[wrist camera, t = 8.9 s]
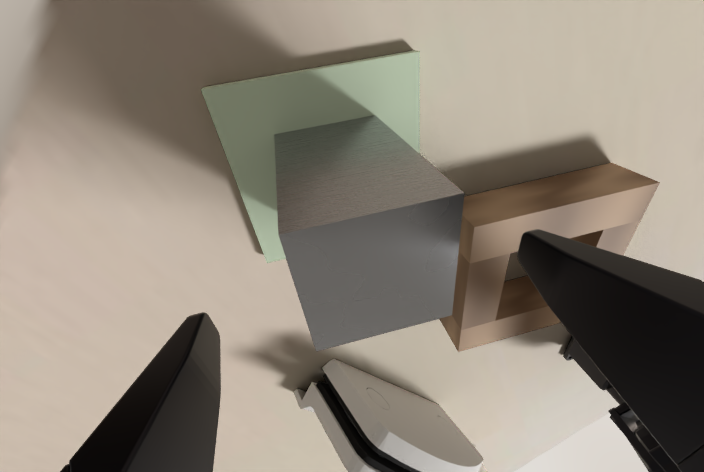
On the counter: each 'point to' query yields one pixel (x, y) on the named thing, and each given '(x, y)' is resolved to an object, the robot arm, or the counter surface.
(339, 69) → the green pad
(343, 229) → the steel block
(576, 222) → the socket plate
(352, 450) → the white black-striped wedge
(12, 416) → the counter surface
